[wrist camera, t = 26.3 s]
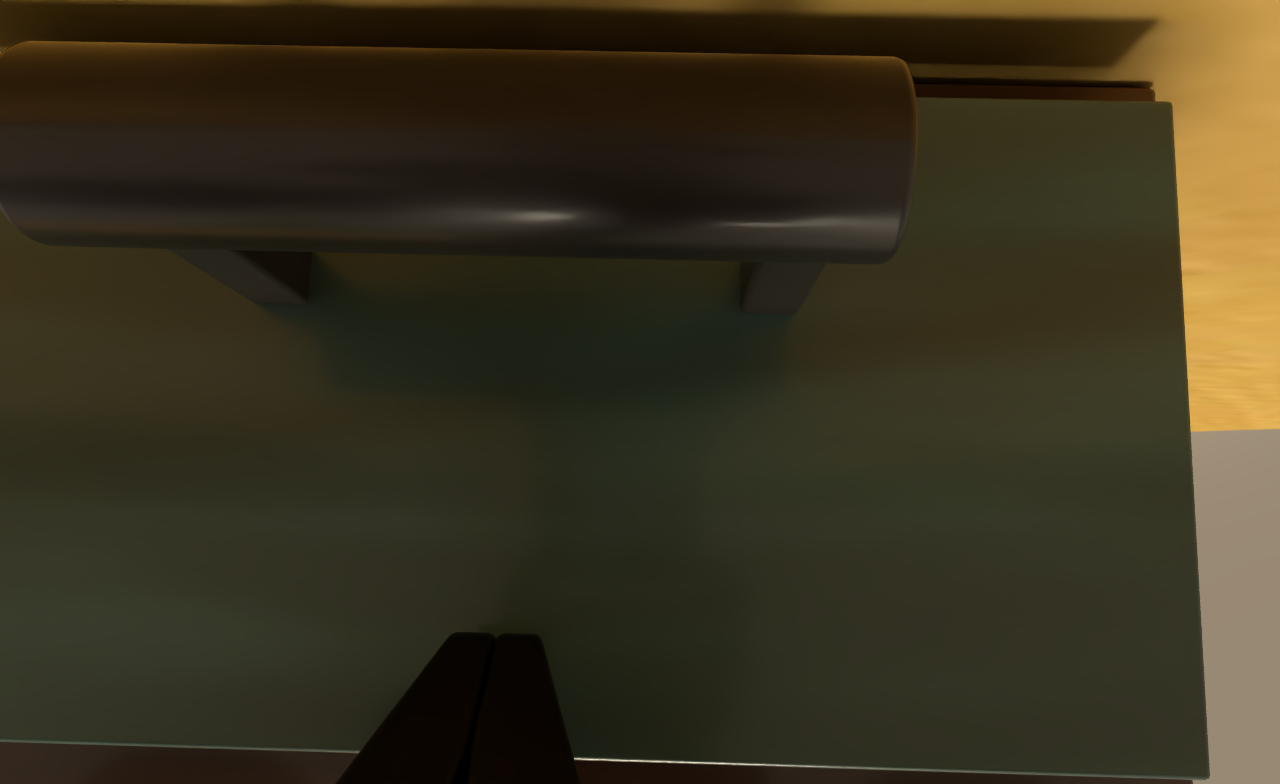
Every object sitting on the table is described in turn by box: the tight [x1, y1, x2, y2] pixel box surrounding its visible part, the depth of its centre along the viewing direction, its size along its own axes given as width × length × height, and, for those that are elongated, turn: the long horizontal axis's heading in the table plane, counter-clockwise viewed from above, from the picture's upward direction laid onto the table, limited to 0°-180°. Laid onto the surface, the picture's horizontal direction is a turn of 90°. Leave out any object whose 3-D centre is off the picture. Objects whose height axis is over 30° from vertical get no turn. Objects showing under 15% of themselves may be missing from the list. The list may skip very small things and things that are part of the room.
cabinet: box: [0, 84, 1193, 784], centre depth 18 cm, size 12×15×9 cm
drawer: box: [0, 41, 1210, 780], centre depth 13 cm, size 15×13×7 cm
